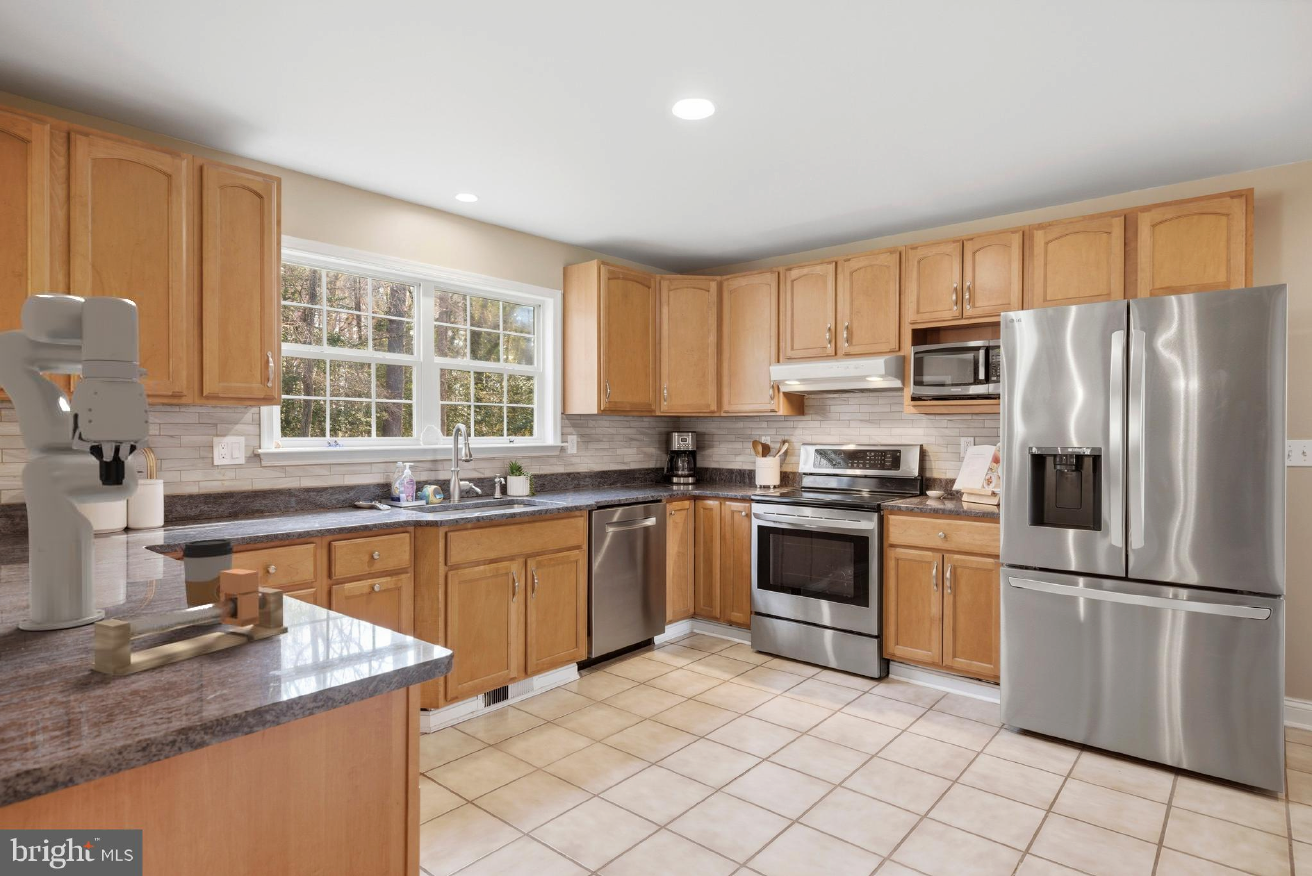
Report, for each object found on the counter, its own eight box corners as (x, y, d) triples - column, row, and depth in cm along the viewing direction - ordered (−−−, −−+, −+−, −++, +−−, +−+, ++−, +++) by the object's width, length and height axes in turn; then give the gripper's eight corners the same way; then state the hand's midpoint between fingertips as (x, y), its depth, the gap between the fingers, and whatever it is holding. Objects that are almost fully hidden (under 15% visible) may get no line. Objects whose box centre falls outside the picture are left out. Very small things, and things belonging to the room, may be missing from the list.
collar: (242, 627, 124) (241, 574, 124) (220, 623, 127) (220, 571, 127) (258, 623, 127) (258, 571, 127) (237, 619, 130) (236, 568, 130)
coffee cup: (210, 628, 133) (209, 546, 133) (171, 626, 135) (170, 544, 135) (244, 616, 142) (244, 539, 142) (207, 614, 143) (207, 538, 143)
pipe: (118, 646, 109) (118, 624, 109) (106, 643, 110) (106, 622, 110) (273, 609, 131) (273, 591, 131) (262, 607, 133) (262, 590, 133)
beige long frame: (118, 676, 107) (117, 627, 107) (89, 668, 110) (89, 621, 110) (288, 631, 131) (288, 591, 131) (260, 625, 135) (260, 586, 135)
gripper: (147, 377, 129) (148, 481, 129) (44, 371, 115) (46, 487, 115) (171, 375, 125) (173, 483, 125) (69, 369, 112) (70, 489, 112)
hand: (112, 485), depth 120 cm, fingers closed
